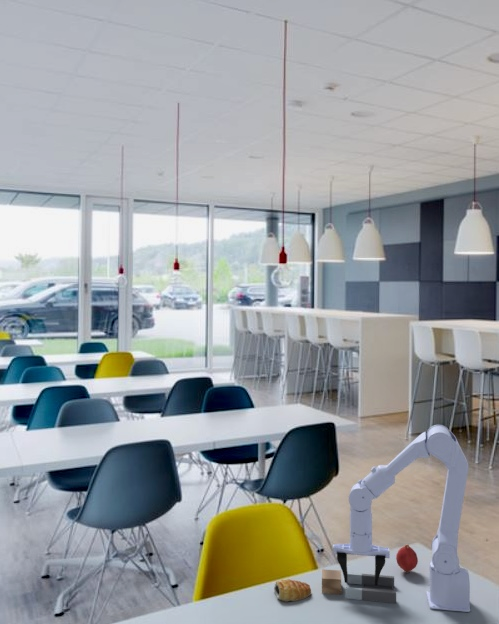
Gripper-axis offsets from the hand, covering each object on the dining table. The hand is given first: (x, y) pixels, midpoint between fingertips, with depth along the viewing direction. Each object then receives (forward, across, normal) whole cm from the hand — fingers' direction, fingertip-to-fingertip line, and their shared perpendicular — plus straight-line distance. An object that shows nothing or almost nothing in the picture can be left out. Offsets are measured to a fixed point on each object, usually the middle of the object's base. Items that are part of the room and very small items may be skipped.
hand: (361, 582), depth 152 cm
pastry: (+3, +18, +5) cm, 19 cm away
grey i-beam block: (+2, -3, 0) cm, 4 cm away
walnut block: (+2, +8, 0) cm, 8 cm away
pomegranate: (+3, -13, -13) cm, 18 cm away
